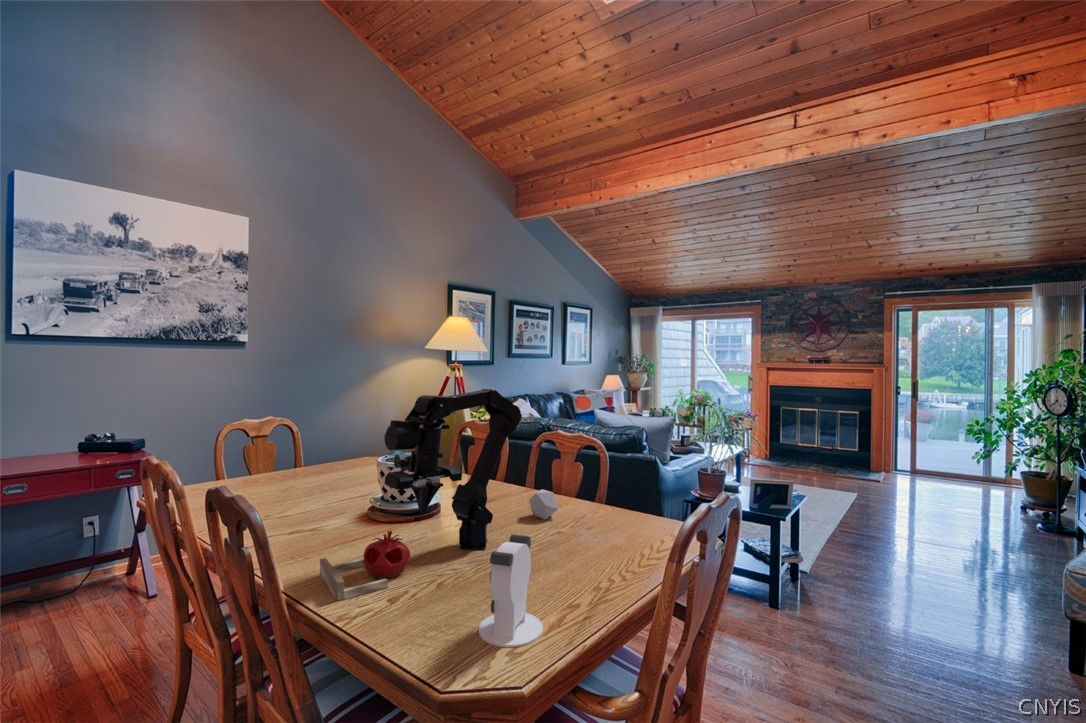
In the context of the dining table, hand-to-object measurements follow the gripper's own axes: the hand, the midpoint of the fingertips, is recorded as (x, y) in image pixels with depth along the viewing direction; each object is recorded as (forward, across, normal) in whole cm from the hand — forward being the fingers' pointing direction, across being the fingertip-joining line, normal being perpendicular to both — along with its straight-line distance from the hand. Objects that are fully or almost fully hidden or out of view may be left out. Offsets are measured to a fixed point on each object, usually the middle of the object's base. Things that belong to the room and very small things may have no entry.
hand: (421, 511), depth 118 cm
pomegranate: (+12, +9, +1) cm, 15 cm away
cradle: (+12, +16, 0) cm, 20 cm away
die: (+10, -46, 0) cm, 47 cm away
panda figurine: (+9, +7, +39) cm, 40 cm away
